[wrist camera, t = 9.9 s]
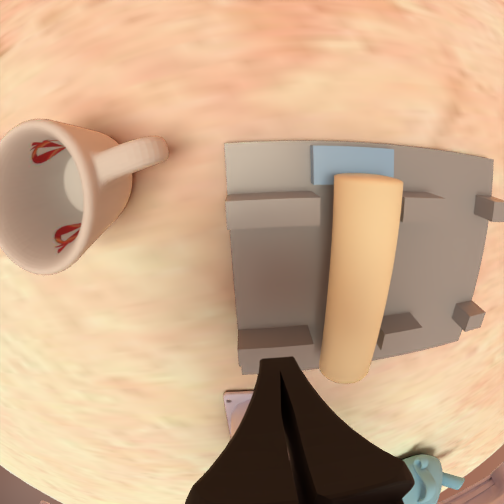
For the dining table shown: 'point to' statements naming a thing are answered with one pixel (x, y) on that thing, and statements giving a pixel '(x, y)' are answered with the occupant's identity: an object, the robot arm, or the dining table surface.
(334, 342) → the tan tapered cylinder
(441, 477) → the teapot
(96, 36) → the dining table surface
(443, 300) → the board
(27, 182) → the cup
